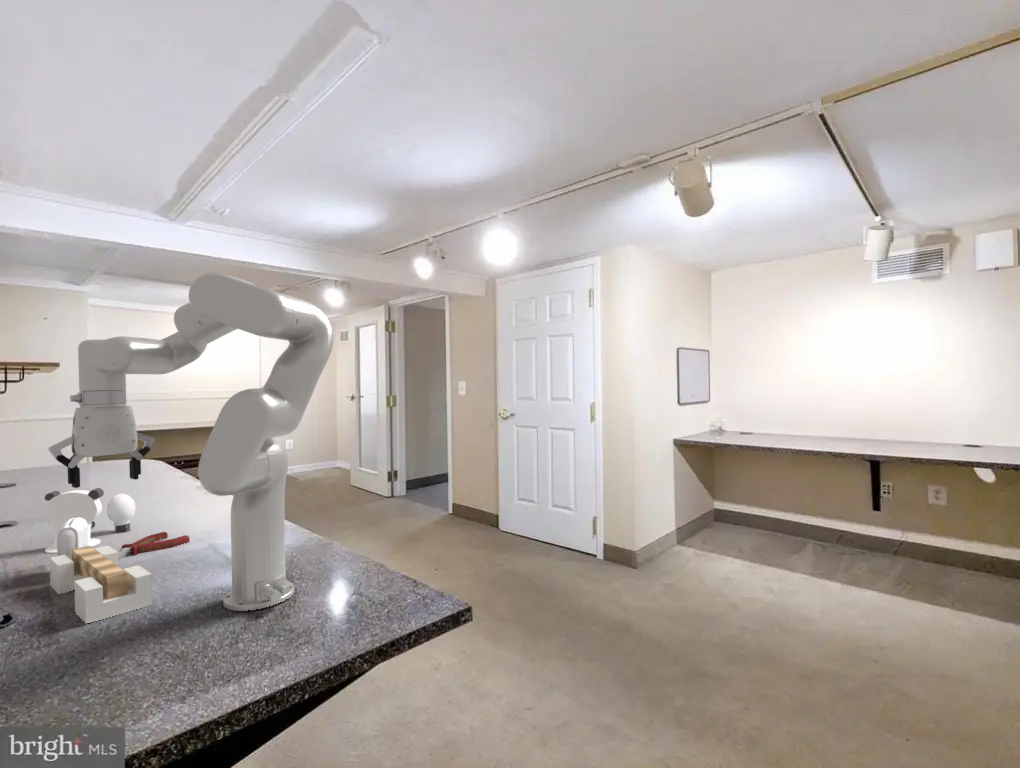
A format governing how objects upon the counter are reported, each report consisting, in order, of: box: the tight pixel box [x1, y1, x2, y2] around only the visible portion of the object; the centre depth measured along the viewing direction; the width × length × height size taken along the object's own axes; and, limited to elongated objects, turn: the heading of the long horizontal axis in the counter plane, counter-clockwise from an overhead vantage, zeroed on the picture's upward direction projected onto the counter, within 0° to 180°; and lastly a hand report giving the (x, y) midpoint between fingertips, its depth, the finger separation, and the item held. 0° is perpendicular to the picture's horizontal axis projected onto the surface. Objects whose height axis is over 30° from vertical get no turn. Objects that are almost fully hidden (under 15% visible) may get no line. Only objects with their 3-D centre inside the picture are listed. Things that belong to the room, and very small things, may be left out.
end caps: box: [49, 545, 153, 625], centre depth 103 cm, size 30×10×6 cm, turn 51°
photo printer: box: [56, 517, 88, 560], centre depth 116 cm, size 10×4×12 cm, turn 29°
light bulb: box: [106, 493, 136, 534], centre depth 150 cm, size 7×7×11 cm
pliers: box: [115, 531, 191, 559], centre depth 131 cm, size 12×20×3 cm, turn 157°
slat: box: [72, 546, 128, 599], centre depth 103 cm, size 28×3×4 cm, turn 51°
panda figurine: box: [44, 487, 105, 554], centre depth 136 cm, size 12×11×15 cm
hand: (106, 482), depth 104 cm, fingers open, 9 cm apart
